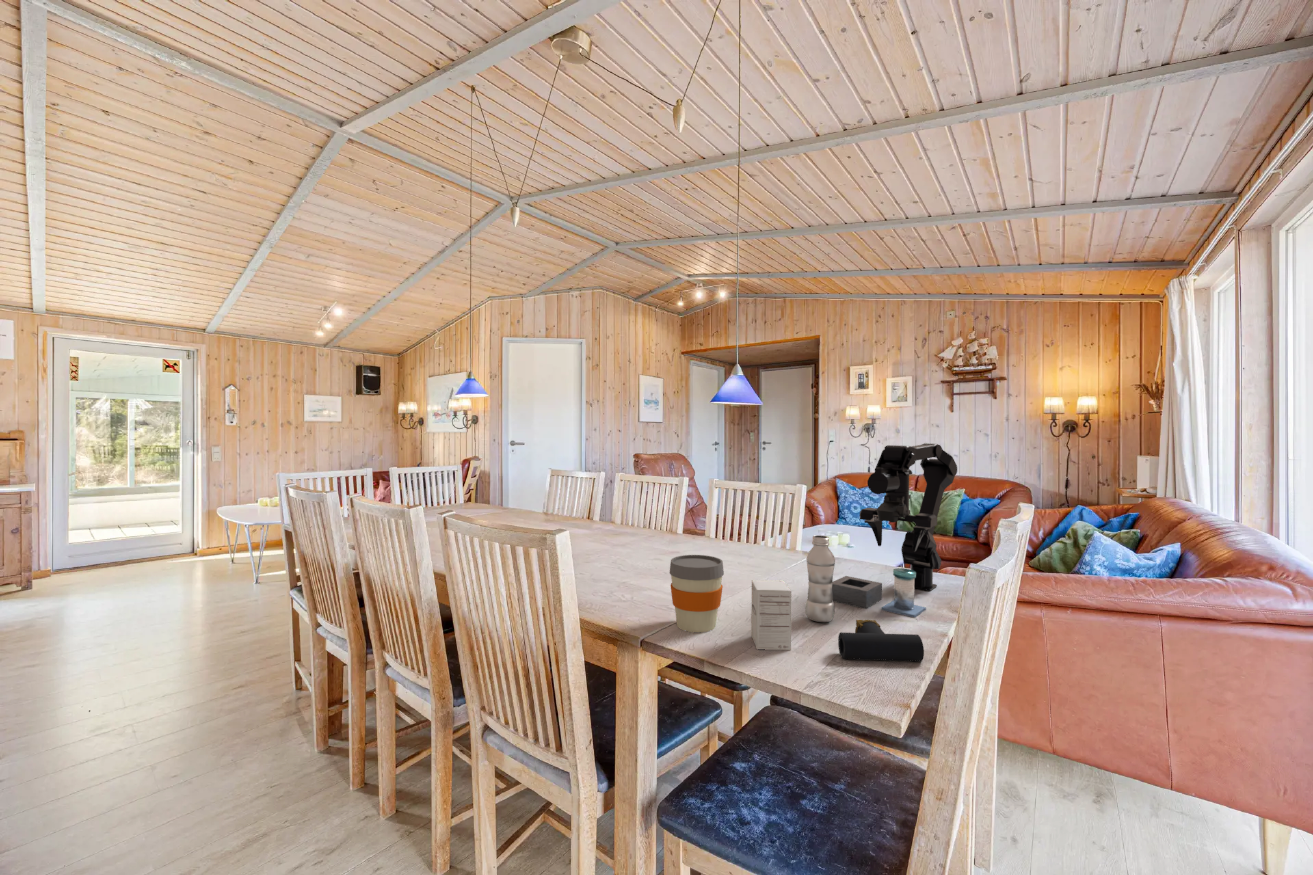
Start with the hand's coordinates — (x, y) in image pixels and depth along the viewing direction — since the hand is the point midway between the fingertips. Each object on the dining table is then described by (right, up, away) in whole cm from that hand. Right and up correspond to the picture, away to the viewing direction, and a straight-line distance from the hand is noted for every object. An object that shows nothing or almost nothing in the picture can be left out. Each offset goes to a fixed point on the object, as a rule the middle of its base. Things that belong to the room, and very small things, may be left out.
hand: (896, 548), depth 147 cm
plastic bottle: (-27, -14, -19) cm, 35 cm away
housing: (-12, -13, -3) cm, 18 cm away
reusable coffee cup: (-56, -14, -22) cm, 62 cm away
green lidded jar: (-3, -13, -11) cm, 17 cm away
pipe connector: (-21, -14, -36) cm, 44 cm away
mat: (-3, -13, -11) cm, 17 cm away
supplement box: (-41, -14, -32) cm, 54 cm away
